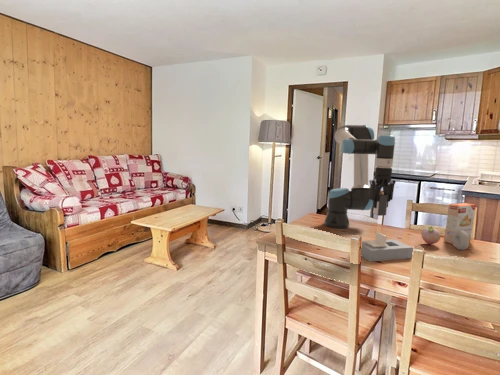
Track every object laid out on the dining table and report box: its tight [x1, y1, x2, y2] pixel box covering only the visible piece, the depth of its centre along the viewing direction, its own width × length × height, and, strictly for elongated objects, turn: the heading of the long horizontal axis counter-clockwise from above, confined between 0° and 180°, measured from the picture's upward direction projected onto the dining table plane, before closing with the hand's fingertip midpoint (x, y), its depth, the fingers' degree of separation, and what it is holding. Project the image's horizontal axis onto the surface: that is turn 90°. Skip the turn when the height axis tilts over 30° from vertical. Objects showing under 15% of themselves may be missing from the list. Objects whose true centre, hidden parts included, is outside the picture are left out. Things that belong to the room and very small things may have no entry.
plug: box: [377, 190, 388, 217], centre depth 149 cm, size 4×4×12 cm
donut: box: [453, 230, 470, 251], centre depth 148 cm, size 10×3×10 cm, turn 174°
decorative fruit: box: [421, 225, 441, 246], centre depth 154 cm, size 9×8×10 cm
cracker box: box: [443, 202, 477, 246], centre depth 159 cm, size 14×6×21 cm, turn 114°
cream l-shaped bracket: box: [363, 231, 388, 247], centre depth 137 cm, size 7×7×5 cm
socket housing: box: [361, 238, 414, 262], centre depth 138 cm, size 12×22×5 cm, turn 104°
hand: (379, 213), depth 149 cm, fingers closed on plug, 4 cm apart
